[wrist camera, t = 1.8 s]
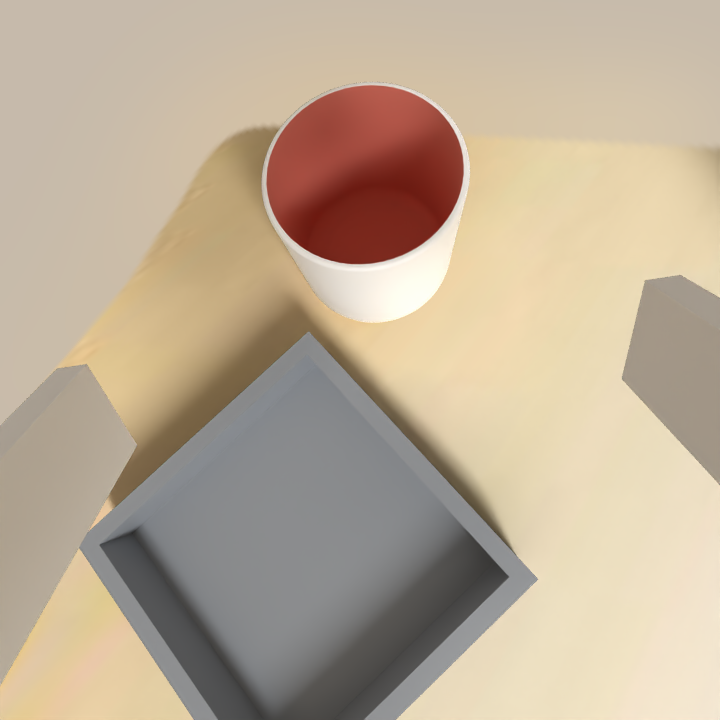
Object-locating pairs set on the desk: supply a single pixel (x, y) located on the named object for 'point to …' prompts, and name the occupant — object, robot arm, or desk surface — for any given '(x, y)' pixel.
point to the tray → (302, 557)
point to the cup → (368, 197)
